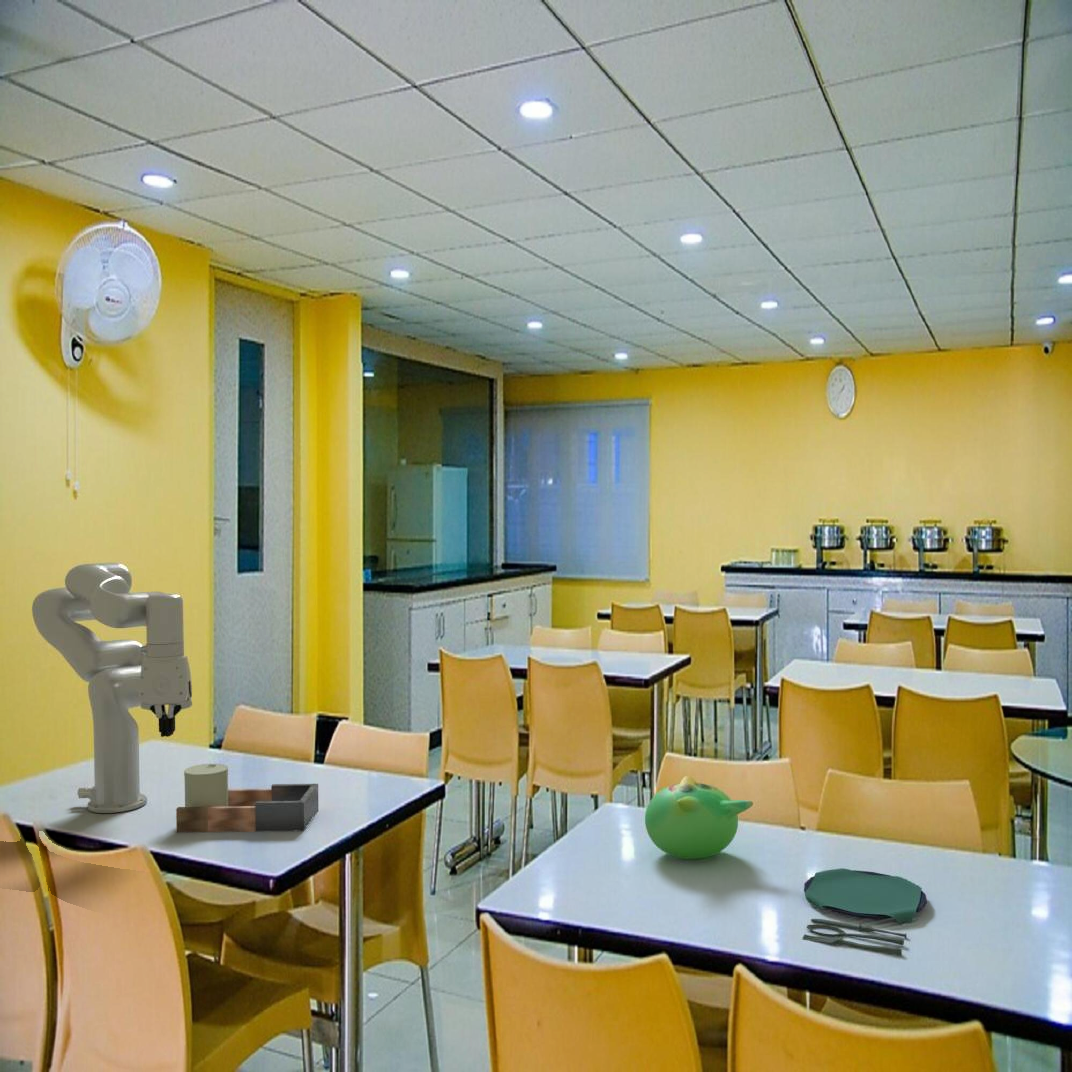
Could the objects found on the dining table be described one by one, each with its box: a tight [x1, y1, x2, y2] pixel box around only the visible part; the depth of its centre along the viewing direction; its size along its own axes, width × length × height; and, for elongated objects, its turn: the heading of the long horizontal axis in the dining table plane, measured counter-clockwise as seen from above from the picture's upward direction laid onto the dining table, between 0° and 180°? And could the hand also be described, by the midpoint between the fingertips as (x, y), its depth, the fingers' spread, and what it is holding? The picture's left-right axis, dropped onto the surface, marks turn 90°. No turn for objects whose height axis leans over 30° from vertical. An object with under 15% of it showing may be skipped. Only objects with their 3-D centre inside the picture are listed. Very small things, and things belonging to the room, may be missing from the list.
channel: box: [175, 788, 272, 833], centre depth 209 cm, size 16×14×5 cm
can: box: [183, 763, 229, 807], centre depth 209 cm, size 9×9×12 cm
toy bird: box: [644, 775, 754, 860], centre depth 185 cm, size 18×17×15 cm
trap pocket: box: [255, 783, 320, 832], centre depth 210 cm, size 10×14×6 cm
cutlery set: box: [802, 867, 928, 957], centre depth 159 cm, size 20×30×2 cm, turn 153°
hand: (167, 735), depth 209 cm, fingers closed
